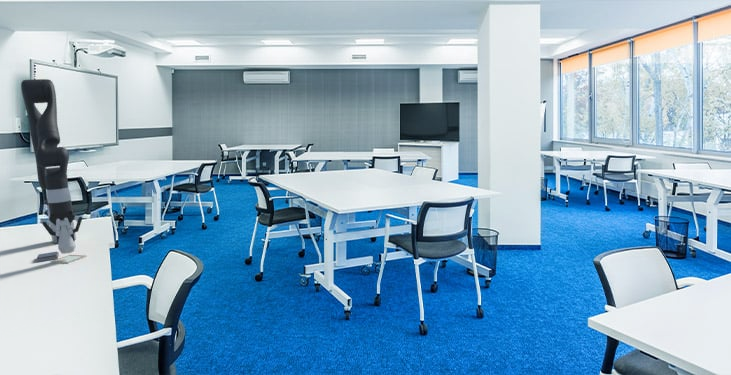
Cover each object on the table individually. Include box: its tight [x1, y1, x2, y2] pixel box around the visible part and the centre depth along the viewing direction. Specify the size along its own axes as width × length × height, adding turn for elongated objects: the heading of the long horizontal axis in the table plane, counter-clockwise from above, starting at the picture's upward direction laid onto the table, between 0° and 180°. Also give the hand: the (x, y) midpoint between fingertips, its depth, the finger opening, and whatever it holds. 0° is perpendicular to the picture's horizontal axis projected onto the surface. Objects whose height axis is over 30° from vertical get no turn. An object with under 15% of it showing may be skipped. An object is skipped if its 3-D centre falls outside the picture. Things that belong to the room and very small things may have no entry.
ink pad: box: [35, 251, 60, 263], centre depth 194 cm, size 7×7×2 cm
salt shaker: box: [57, 220, 76, 254], centre depth 189 cm, size 6×6×13 cm
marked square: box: [50, 254, 87, 264], centre depth 191 cm, size 8×8×1 cm
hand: (66, 244), depth 190 cm, fingers closed on salt shaker, 3 cm apart
